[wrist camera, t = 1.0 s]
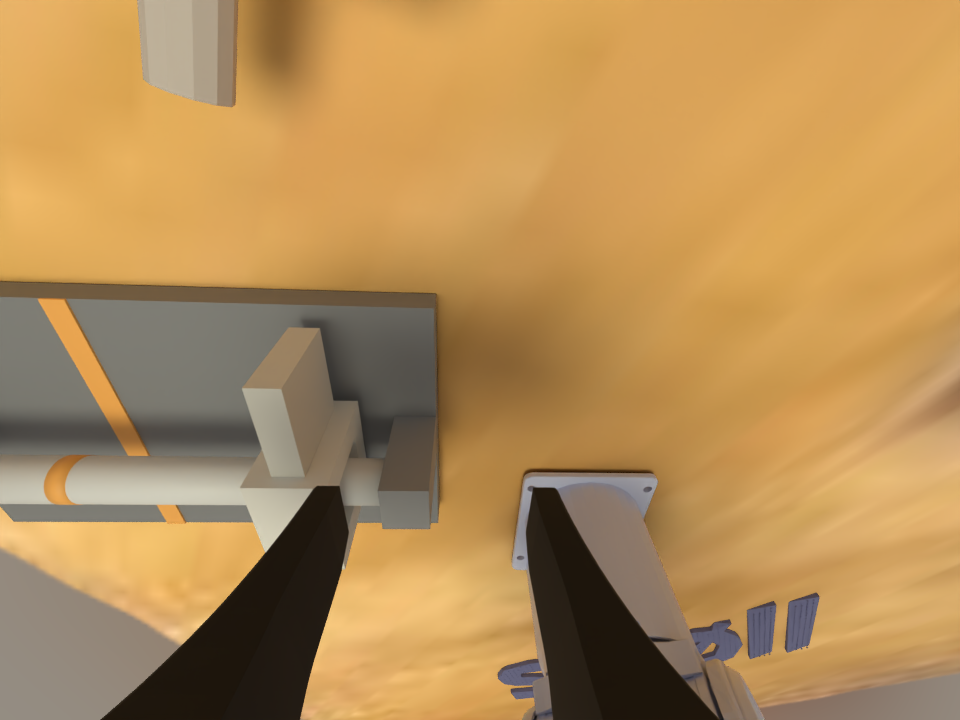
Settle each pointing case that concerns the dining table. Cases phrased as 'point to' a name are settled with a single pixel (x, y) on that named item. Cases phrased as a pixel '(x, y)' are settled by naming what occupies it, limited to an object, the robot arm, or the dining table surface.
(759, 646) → the signage
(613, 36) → the dining table surface
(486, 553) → the dining table surface
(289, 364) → the collar
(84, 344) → the pipe board
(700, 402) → the dining table surface
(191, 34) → the pipe connector
